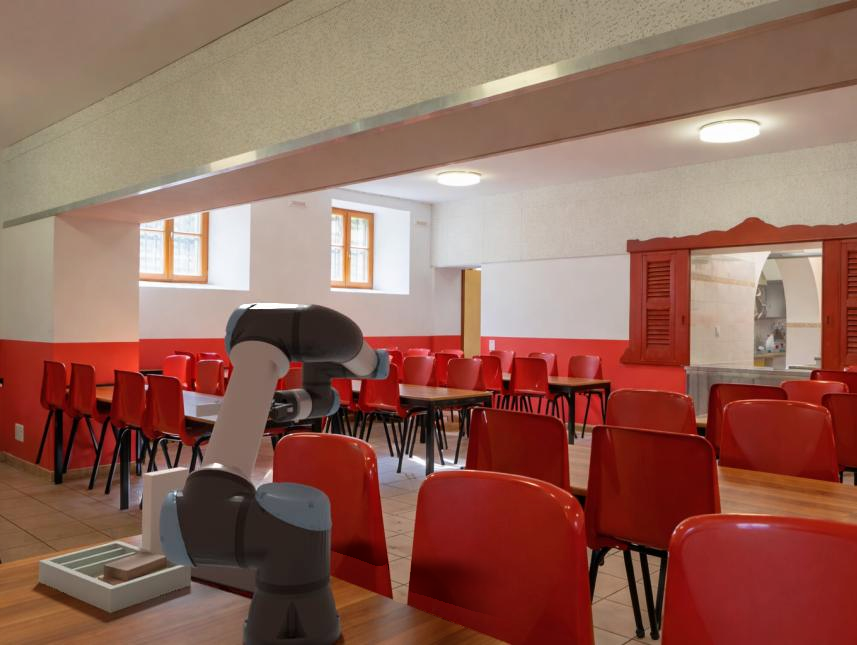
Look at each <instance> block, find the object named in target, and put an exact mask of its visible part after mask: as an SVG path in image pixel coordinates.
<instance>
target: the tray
mask: <svg viewBox="0 0 857 645" xmlns="http://www.w3.org/2000/svg"><path fill="white" fill-rule="evenodd" d="M144 551H146V552H150V553H155V552H152V551H149V550H146V549H143V548H142V547H139V546H135V545H133V544H130V543H127V542H124V541H121V540H115V541H110V542H108V543H104V544H100V545H95V546H93V547H87V548H84V549H83V548H82V549H80V550H76V551H72V552H69V553H65V554H60V555H56V556H53V557H49V558H45V559H42V560H39V561H38V583H40V584H42V585H44V584H45V586H46V587H49V586H50V587H49V588H51V587H52V588H51V589H54V588H55V589H54V590H56V589H57V591H58V590H59V591H58V592H61V593H63V592H64V593H63V594H65V593H66V594H65V595H68V596H70V597H72V598H75V599H76V600H80V601H82V602H84V603H87V604H89V605H91V606H93V607H96V608H98V609H100V610H103V611H105V612H107V613H109V614H111V613H114V612H118V611H119V610H123V609H126V608H128V607H132V606H135V605H137V604H141V603H144V602H146V601H149V600H152V599H155V598H158V597H161V596H164V595H166V593H167V594H170V593H173V592H175V590H176V591H178V589H179V590H182V589H184V588H187V587H189V586H192V585H191V566H182V565H175V564H173V563H171V562H170V561H169V560H168V559H167V567H165V568H168V569H165V570H162V571H159V572H156V573H153V574H149V575H146V576H143V577H140V578H136V579H133V580H130V581H127V582H124V583H120V584H117V585H114V586H113V585H110V584H108V583H105V582H103V581H100V580H98V576H101V575H104V565H106V564H108V563H111V562H114V561H117V560H120V559H123V558H126V557H129V556H132V555H135V554H138V553H141V552H144ZM155 554H158V553H155ZM159 555H161V554H159ZM172 591H173V592H172ZM169 592H170V593H169ZM163 594H164V595H163ZM160 595H161V596H160Z"/></svg>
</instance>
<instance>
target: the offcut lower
mask: <svg viewBox="0 0 857 645" xmlns="http://www.w3.org/2000/svg"><path fill="white" fill-rule="evenodd" d="M165 569H168V568H163V569H160V570H158V571H155V572H152V573H150V574H153V573H156V572H159V571H162V570H165ZM147 575H149V574H147ZM144 576H146V575H144ZM142 577H143V576H142ZM139 578H140V577H139ZM98 580H100V581H103V582H105V583H108V584H110V585H113V586H114V585H117V584H120V583H124V582H125V581H121V580H117V579H113V578H109V577H105V576H104V575H101V576H98Z"/></svg>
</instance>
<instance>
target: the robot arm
mask: <svg viewBox="0 0 857 645" xmlns="http://www.w3.org/2000/svg"><path fill="white" fill-rule="evenodd" d="M227 320H228V321H227V324H226V326H225V333H226V334H225V335H224V347H225V348H224V349H225V353H226V355H227V357H228V358H229V361H230V363H231V366H232V367H233V368H232V369H233V370H232V371H231V374H230V378H229V381H228V384H227V386H226V390H225V393H224V396H223V398H222V401H218V400H217V401H215V402H214V403H213V402H210V403H201V404H196V405H195V417H196V418H202V417H204V418H205V417H210V416H217V417H216V420H215V422H214V425H213V428H212V432H211V435H210V437H209V440H208V443H207V446H206V450H205V453H204V456H203V458H202V462H201V465H200V467H199V468H197V469H194V470H193V471H191V472H189V475H188V477H187V480H186V483H185V485H184V488H183V490H180V489H176V490H173V491H170V492H169V493H168V494H167V495H166V496H165V498H164V500H163V503H162V506H161V511H160V517H159V535H160V543H161V547H162V550H163V553H164V555H165V557H166V558H167V559H168V560H169V561H170V562H171V563H173V564H175V565H182V566H192V567H193V568H198V567H210V568H239V569H254V570H255V591H254V594H253V597H251V601H250V604H249V608H248V614H247V616H246V617H245V619H244V620H243V627H242V641H243V644H244V645H334V644H335V643H336V642H337V641H338V640H339V639H340V637H341V617H340V614H339V611H338V610H337V606H336V605H337V604H336V601H335V598H334V594H333V590H332V588H331V546H332V544H331V543H332V542H331V539H332V538H331V536H332V526H333V522H332V518H331V516H332V515H331V502H330V499H329V497H328V495H327V494H325V492H324V491H322V490H320V489H318V488H316V487H314V486H310V485H307V484H302V483H297V482H267V483H263V484H260V485H259V486H258V487H257V488H256V485H255V484H254V482H252V481H251V480H252V476H253V473H254V469H255V466H256V461H257V458H258V454H259V450H260V448H261V447H260V446H261V443H262V440H263V436H264V432H265V429H266V425H267V421H268V420H269V419H270V420H272V422H275V423H277V424H278V423H286V422H292V421H294V423H299V421H300V420H307V419H317V418H325V417H328V416H332V415H334V414H336V413H337V411H338V410H339V408H340V406H341V397H340V394H339V391H338V390H337V389H336V388H335V387H333V385H332V384H333V382H332V381H333V379H341V380H342V379H344V380H345V379H346V380H347V379H349V380H350V379H351V380H352V379H354V380H373V381H374V380H375V381H376V380H386V379H387V378H388V376H389V374H390V354H389V352H388V350H386V349H379V348H372V347H371V346H370V344H369V343H368V342H366V340H365V338H364V334H363V331H362V329H361V328H360V326H359V325H358V324H357V322H355V321H354V320H352V318H351V317H349V316H347V315H345V314H344V313H342V312H340V311H338V310H335V309H332V308H330V307H327V306H325V305H320V304H314V303H313V304H312V303H305V304H302V303H300V304H297V303H295V304H294V303H263V302H256V303H255V302H254V303H245V304H240V305H239V306H238V307H236V308H235V309H234V310H233V311H232V313H231V315H230V316H229V318H228V319H227ZM291 363H301V388H293V389H288V390H286V389H285V390H276V389H277V385H278V382H279V381H278V380H280V379H282V378H284V377H285V376H286V375H287V374H288V373H289V370H290V367H291Z"/></svg>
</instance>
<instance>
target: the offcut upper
mask: <svg viewBox="0 0 857 645" xmlns="http://www.w3.org/2000/svg"><path fill="white" fill-rule="evenodd" d="M165 567H167V558H166V557H165V556H164V555H159V554H155V553H150V552H146V551H144V552H141V553H138V554H135V555H132V556H129V557H126V558H123V559H120V560H117V561H114V562H111V563H108V564H106V565H104V576H105V577H109V578H113V579H117V580H121V581H125V582H127V581H130V580H133V579H136V578H139V577H142V576H144V575H147V574H150V573H152V572H155V571H158V570H160V569H163V568H165Z"/></svg>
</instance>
